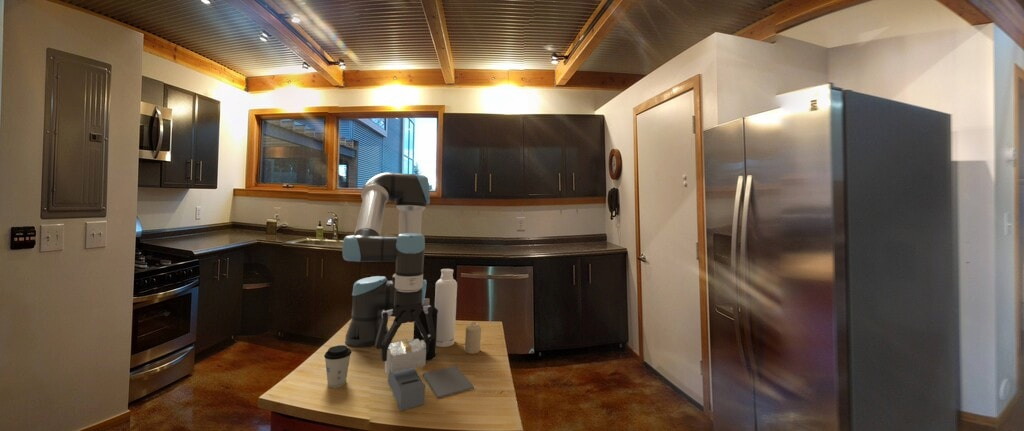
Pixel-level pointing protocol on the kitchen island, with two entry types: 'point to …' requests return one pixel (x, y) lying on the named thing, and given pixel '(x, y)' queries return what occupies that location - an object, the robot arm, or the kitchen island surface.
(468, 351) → the candle
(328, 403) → the kitchen island surface
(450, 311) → the bottle
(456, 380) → the rubber mat
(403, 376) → the block plane
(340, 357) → the coffee cup
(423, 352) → the lever cap
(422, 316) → the aerosol can
